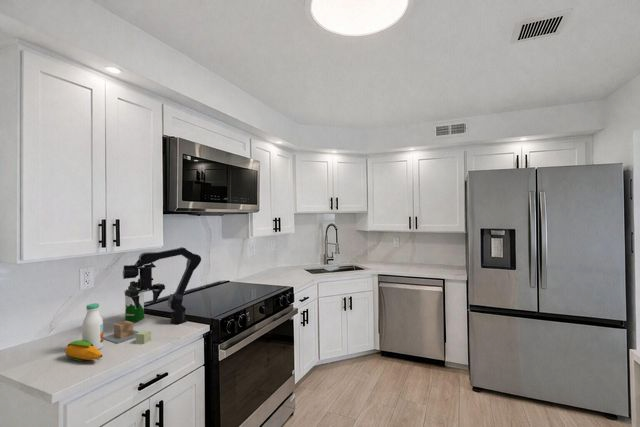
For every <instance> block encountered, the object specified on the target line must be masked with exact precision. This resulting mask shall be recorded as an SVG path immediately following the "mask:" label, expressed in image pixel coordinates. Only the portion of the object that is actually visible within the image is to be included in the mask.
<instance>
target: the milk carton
mask: <svg viewBox="0 0 640 427" xmlns="http://www.w3.org/2000/svg"><path fill="white" fill-rule="evenodd" d="M129 289H134V288H130V285H128V288H127V289H125V290H123V292H124V294H125V292H126V290H129ZM138 296H139V307H138V308H136V306H135V304H134V301H133V300H132V298H131V297H128V296H125V295H124V298H125V299H124V301H125V304H124V305H125V312H124V313H125V314H124V321H130V322H133V323H139V322H140V321H143V320H145V304H144V303H145V299H144V298H145V292H141V293H139V294H138Z"/></svg>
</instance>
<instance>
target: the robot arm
mask: <svg viewBox="0 0 640 427" xmlns="http://www.w3.org/2000/svg"><path fill="white" fill-rule="evenodd" d="M177 256H182V257H184V258H185V259H186V265H185V266H186V267H185V270H184V272H183V274H182V275H181V279H180V281H179V283H178V285H177V288H176V289H175V291H174V293H173V294H172V293H170V294H169V298H167V300H166V301H167V306H168V307H169V308H170V309H171V316H170V321H169V323H170V324H172V325H173V324H174V325H180V324H183V323H186V322H188V320H187V319H186V310H187V308H186V307H185V306H184V305H183V301H184V294H185V292H186V289H187V287H188V285H189V282H190V280H191V279H192V275H193V273H194V272H195V270H196V269H197V268H198V267H199V265H200V263H201V262H202V257H201V256H200V255H199V254H196V253H193V252H192V251H189V250H188V249H187V248H185V247H183V246H181V247H179V248H178V247H177V248H172V249H168V250H163V251H157V252H156V251H154V252H153V251H148V252H147V251H145V252H141V253H140V254H139V256H138V260H137V261H136V262H135V263H134V264H130V265H128V264H127V265H126V264H125V265H123V269H122V280H127V279H136V278H137V277H138V276H139V278H137V281H135V280H131V281H130V282H129V286H130V288H134V289H129V290H127V289H125V290H126V292H125V293H124V297H125V296H128V297H131V298H132V300H133V301H134V304H135V306H136V308H138V307H139V296H138V294H139V293H141V292H144V293H145V292H150V291H151V292H152V304H153V305H155V304H156V303H157V301H158V299H159V297H160V295H161V294H162V292H163V291H164V290H166V285H165V284H163V283H154V284H153V281H154V278H153V269H154V268H157V266H156V265H155V264H154V262H156V261H158V260H163V259H167V258H172V257H173V258H174V257H177Z"/></svg>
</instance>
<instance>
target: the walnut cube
mask: <svg viewBox="0 0 640 427" xmlns="http://www.w3.org/2000/svg"><path fill="white" fill-rule="evenodd" d="M133 330H134V322H130V321H125V320H124V321H121V322H115V323H113V334H114V336H115V337H117V338H120V339H121V338H124V337H127V336H130V335H133Z"/></svg>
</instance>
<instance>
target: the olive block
mask: <svg viewBox="0 0 640 427" xmlns="http://www.w3.org/2000/svg"><path fill="white" fill-rule="evenodd" d="M138 332H139V333H137V334H136V338H135V344H136V343H137V344H138V345H145V344H147V343H149V342H151V341H152V332H151V330H141V331H138ZM137 344H136V345H137Z"/></svg>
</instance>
